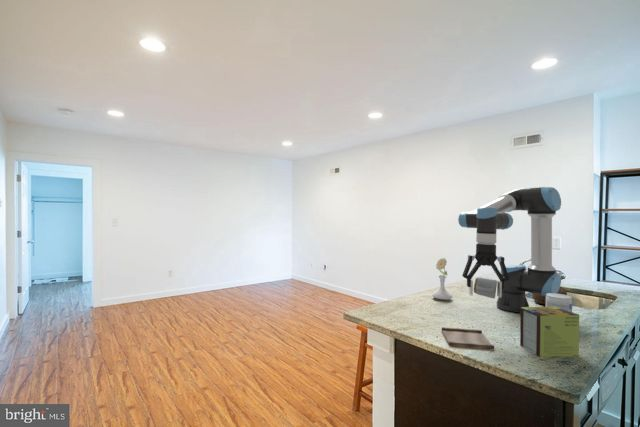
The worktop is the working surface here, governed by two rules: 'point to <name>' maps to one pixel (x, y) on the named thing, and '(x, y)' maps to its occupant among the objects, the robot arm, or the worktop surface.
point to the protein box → (549, 331)
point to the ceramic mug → (485, 287)
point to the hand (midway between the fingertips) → (485, 295)
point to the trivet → (466, 338)
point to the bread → (542, 299)
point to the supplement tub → (559, 301)
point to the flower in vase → (442, 282)
